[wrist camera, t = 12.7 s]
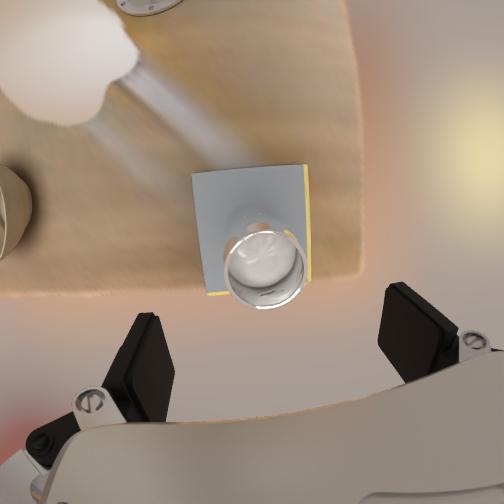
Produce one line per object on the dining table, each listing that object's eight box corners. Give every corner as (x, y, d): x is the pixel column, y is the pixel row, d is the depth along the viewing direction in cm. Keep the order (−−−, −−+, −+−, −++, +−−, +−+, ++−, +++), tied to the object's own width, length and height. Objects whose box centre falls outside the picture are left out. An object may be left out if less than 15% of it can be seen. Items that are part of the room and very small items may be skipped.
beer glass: (288, 237, 36) (325, 283, 22) (243, 265, 37) (252, 326, 23) (261, 191, 34) (283, 209, 20) (213, 221, 35) (202, 260, 21)
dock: (194, 173, 36) (191, 173, 33) (302, 164, 36) (307, 164, 34) (208, 287, 41) (207, 296, 38) (306, 277, 41) (311, 285, 39)
